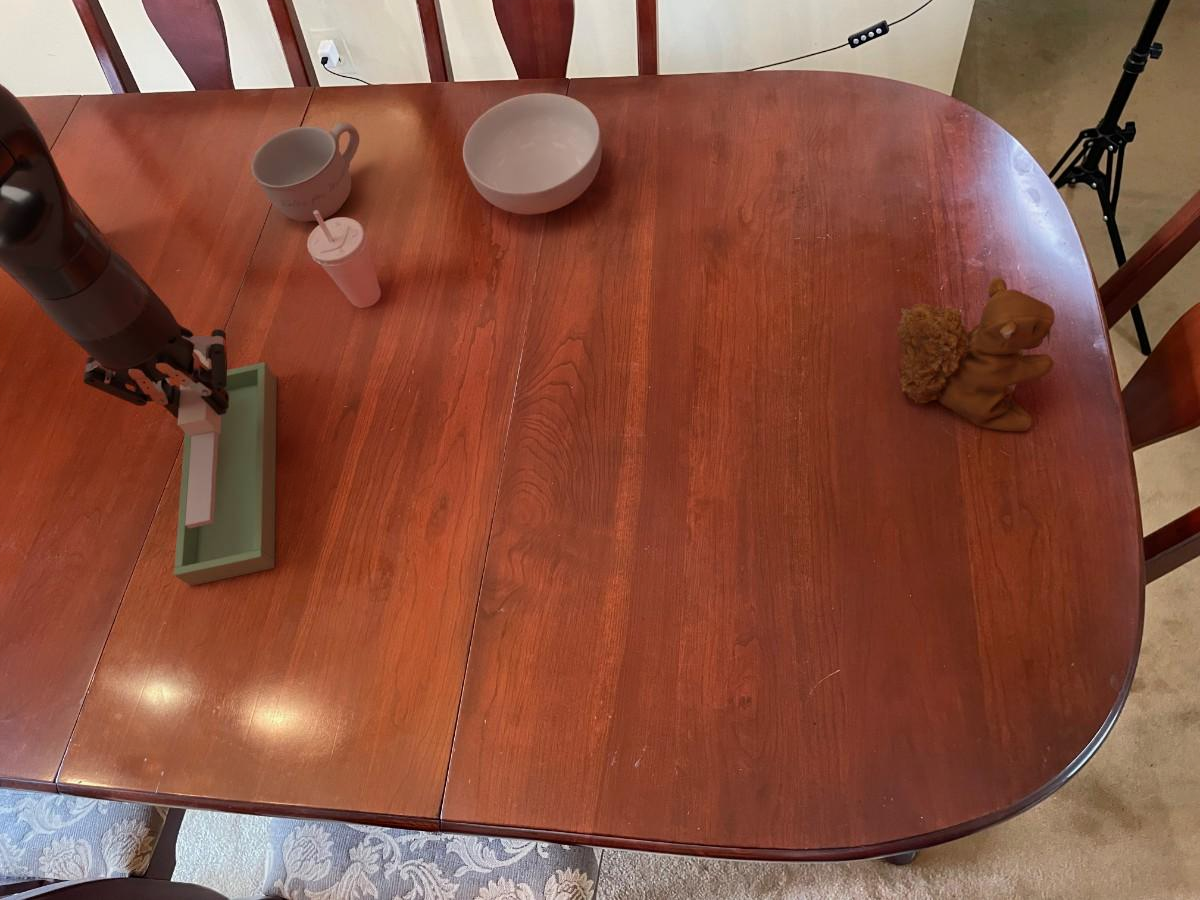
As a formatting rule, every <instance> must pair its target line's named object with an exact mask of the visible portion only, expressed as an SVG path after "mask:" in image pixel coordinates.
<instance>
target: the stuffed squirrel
mask: <svg viewBox="0 0 1200 900" xmlns="http://www.w3.org/2000/svg"><path fill="white" fill-rule="evenodd" d="M1007 288H1008V287H1007V282H1006V281H1005V280H1004V279H1003V278H1002V277H994V278H992V279H991V280H990V283H989V285H988V297H989V299H988V300H987V302H986V304H985V305H984V307H983V310H982V313H981V318H980V322H979V323H978V325H977V324H976V326H975V327H974V328H972V330H971V331H968V332H967V329H966V326H965V325H964V324H963V322H962V321H963V320H962V312H960V308H959V307H956V306H953V307H952V308H950V307H947V306H946V307H941V306H939V305H936V306H933V305H930V304H927V303H925V302H922V303H918V304H916V303H914V304H913V306H914V307H911V309H906V308H904V307H902V308H900V311H901V316H902V317H901V319H900V320H898V323H899V325H898V326H897V328H896V333H897V334H896V337H897V339H898V341H899V344H900V347H901V350H902V351H904V353H903V354H904V355H903V356H902V357H900V358H899V360H900V363H899V367H900V370H901V371H900V373H901V379H900V380H899V381H898V383H900V386H901V392H902V393H904V394H906V395H907V397H908V398H910V399H912V400H913V401H914V403H917V404H927V403H930V402H932V401H936V400H937V401H938V402H939V404H941V405H942V406H945V407H947V409H950V410H951V411H953V412H954V413H956V414H958V415H959V416H961V417H962V418H964V419H966V420H968V421H969V422H970V423H972V424H973V425H974V426H977V427H980V428H985V429H989V430H996V431H1001V432H1002V431H1004V432H1020V433H1021V432H1025V431H1027V430H1029V428H1030V427H1031V424H1032V418H1031V416H1030V415H1029V413H1028V412H1027V411H1026V410H1025V409H1024V408H1023V407H1022V406H1020V405H1019V404H1018V403H1017V402H1015V401H1014V400H1013V399H1012V396H1013V393H1014V391H1015V390H1016V389H1015V388H1016V385H1019V384H1023V383H1027V382H1031V381H1035V380H1038V379H1041V378H1043V377H1044V376H1046V375H1048V374H1049V373H1050V372H1051V371H1052V370H1053V369H1054V367H1055V361H1054V360H1053V358H1052V356H1051V355H1048V354H1024V352H1025V350H1027V351H1028V350H1033V349H1037V348H1038V347H1040V346H1041V345H1042V344H1043V343H1044V339H1045V338H1047V351H1048V352H1049V351H1052V350H1053V349H1052V345H1051V344H1052V331H1051V330H1052V326H1054V323H1055V317H1056V315H1055V310H1054V309H1053V308H1052V306H1050V305H1049V304H1047V303H1045V302H1043V301H1041V300H1039V299H1037V298H1035V297H1033V296H1031V295H1029V294H1026V293H1023V292H1022V291H1021V290H1020V291H1019V290H1017V289H1012V288H1011V289H1007Z"/></svg>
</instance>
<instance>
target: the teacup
mask: <svg viewBox="0 0 1200 900" xmlns="http://www.w3.org/2000/svg"><path fill="white" fill-rule="evenodd" d="M345 132H347V133H348V134H349V141H348V144H347V146H346V149H345V150H344V152H343V153H342V152H341V151H340V137H341V135H342V134H344V133H345ZM359 145H360V134H359V131H358V130H357V127H355V126H354V125H352V124H351V123H349V122H347V121H346V122H345V121H341V122H338V123H336V124H335V125H334V126H333V127H332V128H331V130H330V132H329V131H328V130H326V128H325V129H324V128H322V127H320V126H319V127H318V126H314V125H302V126H297V127H296V126H295V127H292V128H288V129H286V130H283V131H281V132H278V133H277V134H275V135H273V136H272V137H270V138H269V139H268V140H266V141H265V142H264V143H263V144H262V145H261V146H260V147H259V148H258V149H257V151H255V154H254V155H253V158H252V160H251V164H250V169H251V174H252V177H253V179H254V180H255V181H256V182H257V184H259V186H260V187H261V189H262V190H263V192H264V194H265V195H266V196H267V198H268V200H269V202H271V204H272V205H273V207H274V208H275V209H276V210H277V211H278V212H279V213H280V214H281V215H283V216H285V217H286V218H288V219H290V220H293V221H297V222H318V221H317V219H316V217H315V215H314V214H313V212H314V211H315V210H318V212H319V213H320V215H321V217H322V219H323V220H324V219H327V218H329V217H331V216H332V215H334V214H336V213H337V212H338V211H339V210H340V209H341V208H342V206H343V205H344V203H345V202H346V200H347V199H348V197H349V195H350V192H351V188H352V177H351V173H350V170H349V169H350V165H351V162H352V160H353V158H354V157H355V155H356V153H357V151H358V149H359Z"/></svg>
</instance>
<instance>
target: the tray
mask: <svg viewBox="0 0 1200 900" xmlns="http://www.w3.org/2000/svg"><path fill="white" fill-rule="evenodd" d="M277 381H278V377H277V375H276V374H275V373H274V372H273V371H272V369H271V368H270V366H269V365H268V364H267V363H266V362H265V361H262V362H258V363H253V364H249V365H243V366H240V367H239V366H238V367H234V368H230V369H227V385H226V387H225V388H223V389H225V391H226V392H227V393H228V394H229V406H228V408H227V412H226V414H222V415H221V432H220V434H219V435H218V451H217V471H216V490H215V510H214V523H213V524H208V525H203V526H199V527H194V528H188V527H187V526H186V525H185V522H186V508H187V493H188V479H189V465H190V450H191V437H190V436H189V435H188V434H187V433H185V432H184V439H183V450H182V451H183V453H182V464H181V465H182V466H181V478H180V489H179V490H180V491H179V506H178V517H177V531H176V544H175V555H174V570H173V575H174V577H176V578H178V579H179V580H180V581H182V582H183V583H185V584H186V585H188V586H189V587H192V586H193V587H194V586H196V585H197V586H198V585H201V584H206V583H211V582H216V581H221V580H224V579H229V578H234V577H238V576H243V575H248V574H252V573H253V574H254V573H258V572H262V571H266V570H271V569H275V558H276V557H275V556H276V555H275V554H276V553H275V551H276V548H275V547H276V534H275V533H276V473H277V471H276V470H277V469H276V464H277V463H276V462H277V461H276V460H277V459H276V458H277V457H276V456H277V453H276V452H277V388H278V387H277V386H278V385H277V383H278V382H277Z"/></svg>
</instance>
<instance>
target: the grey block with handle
mask: <svg viewBox="0 0 1200 900" xmlns="http://www.w3.org/2000/svg"><path fill="white" fill-rule="evenodd" d="M193 352H195V353H196V354H197V355H198V356H199V358H200V361H201V362H202V363H203V364H204V365H205V366H206V367H208V368H209V369H211V361H210V362H208V361H206V357H204V356H203V355H202V353H201V352H200V351H198V350H194V351H193ZM179 389H180V402H179V412H178V418H177V426H178V427H179V428H180V429H181V430H182V431H183V432H184V434H185V433H187V434H188V435H189V436H190V437H191V450H190V465H189V479H188V493H187V508H186V522H185V525H186V526H187V527H188V528H194V527H199V526H203V525H208V524H213V523H214V510H215V490H216V471H217V451H218V435H219V434H220V432H221V415H218V414H217V413H216V412H215V411H214V410H213V409H212V408H211V407H210V406H209V405H208V404H207V403H206V402H205V401H204V400H203V399H202V398H201V395H200V394H198V393H197V392H196V391H195V390H193V389H192V388H191V387H189V386H188V387H183V386H182V385H181V384H180V387H179Z"/></svg>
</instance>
